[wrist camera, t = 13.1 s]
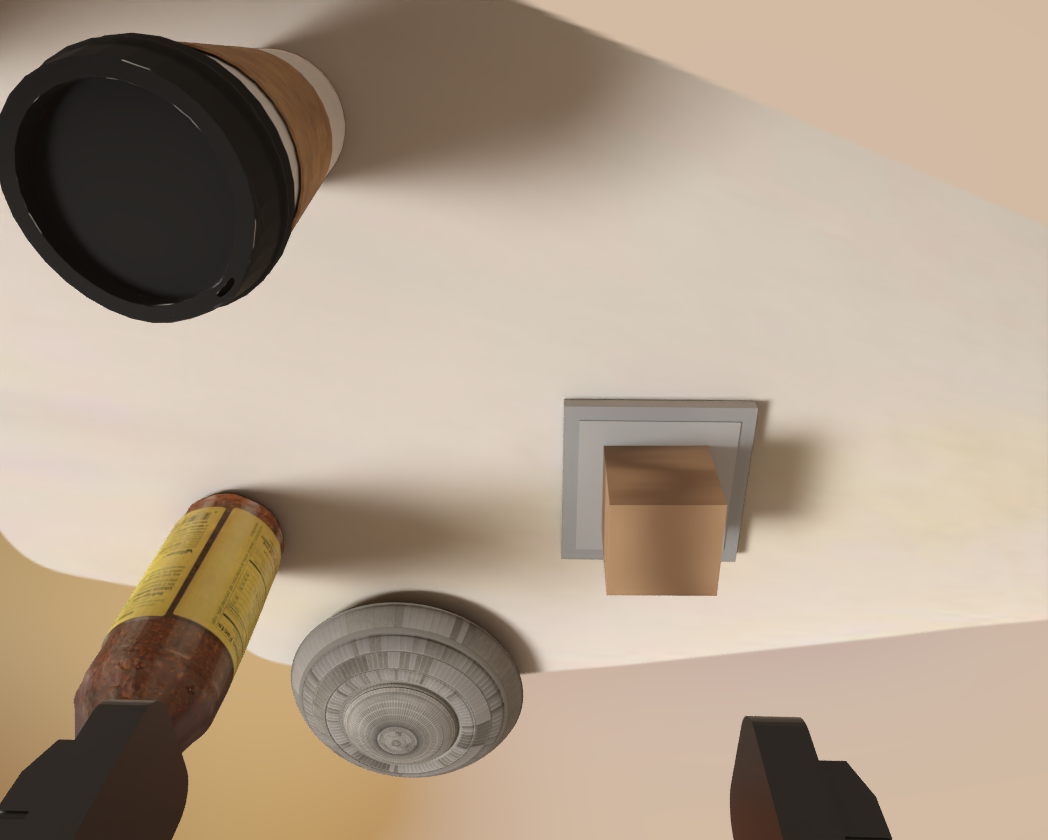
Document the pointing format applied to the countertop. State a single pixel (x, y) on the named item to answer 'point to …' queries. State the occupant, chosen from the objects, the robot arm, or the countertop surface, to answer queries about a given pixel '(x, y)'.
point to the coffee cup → (166, 167)
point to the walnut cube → (661, 520)
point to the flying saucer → (406, 688)
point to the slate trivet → (649, 425)
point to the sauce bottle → (189, 616)
